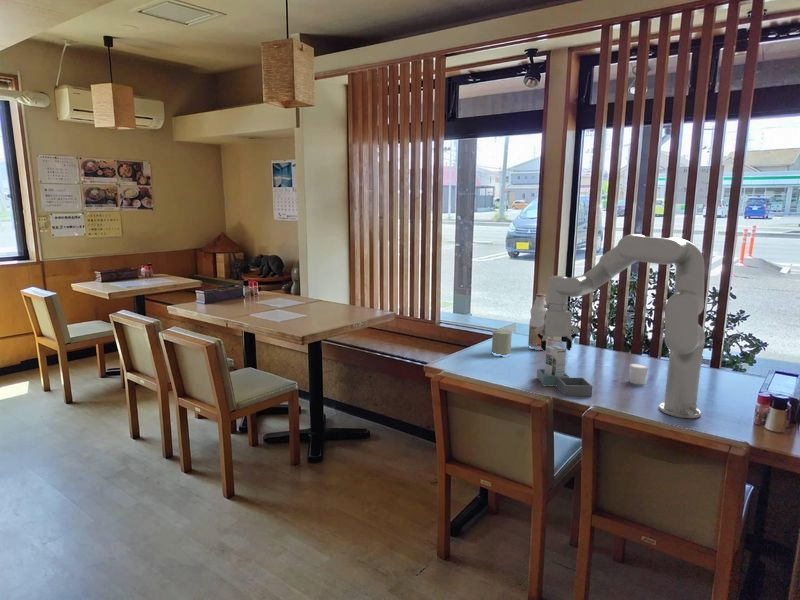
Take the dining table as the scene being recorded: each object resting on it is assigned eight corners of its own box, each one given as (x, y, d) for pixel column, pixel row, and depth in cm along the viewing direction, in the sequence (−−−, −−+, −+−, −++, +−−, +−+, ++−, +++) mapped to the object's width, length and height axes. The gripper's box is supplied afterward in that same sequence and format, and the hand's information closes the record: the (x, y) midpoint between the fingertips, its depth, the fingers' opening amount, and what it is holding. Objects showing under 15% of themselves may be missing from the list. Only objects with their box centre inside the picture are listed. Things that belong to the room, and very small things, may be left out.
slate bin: (568, 386, 199) (569, 376, 198) (543, 386, 199) (543, 376, 198) (560, 378, 208) (561, 369, 208) (536, 378, 209) (537, 368, 208)
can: (489, 352, 248) (490, 328, 246) (507, 352, 249) (508, 328, 247) (494, 357, 239) (495, 332, 237) (513, 357, 240) (514, 332, 238)
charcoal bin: (591, 396, 188) (592, 386, 187) (564, 396, 188) (565, 385, 187) (582, 387, 198) (583, 377, 197) (556, 387, 198) (557, 377, 197)
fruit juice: (527, 350, 254) (531, 295, 249) (528, 345, 263) (531, 292, 258) (547, 351, 251) (550, 296, 247) (547, 347, 260) (550, 293, 256)
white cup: (636, 385, 201) (637, 368, 200) (624, 380, 208) (625, 363, 207) (650, 384, 203) (652, 367, 202) (638, 379, 209) (639, 362, 208)
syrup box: (543, 381, 205) (545, 346, 203) (555, 379, 207) (557, 345, 205) (552, 385, 200) (554, 349, 197) (564, 383, 202) (566, 348, 200)
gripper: (538, 309, 195) (536, 352, 197) (582, 308, 195) (581, 352, 197) (533, 306, 202) (531, 347, 205) (576, 305, 202) (574, 347, 205)
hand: (556, 349), depth 201 cm, fingers open, 9 cm apart
